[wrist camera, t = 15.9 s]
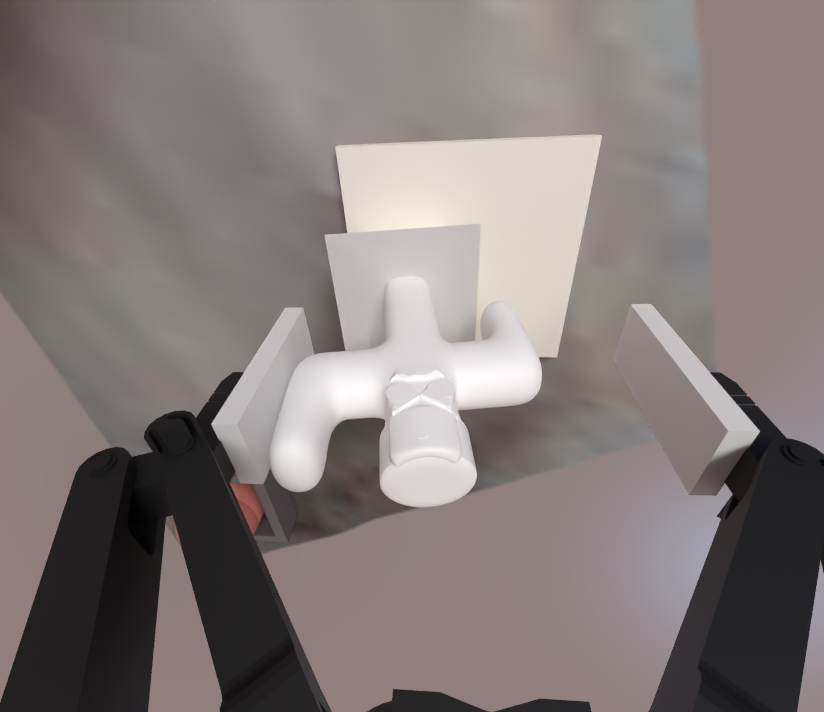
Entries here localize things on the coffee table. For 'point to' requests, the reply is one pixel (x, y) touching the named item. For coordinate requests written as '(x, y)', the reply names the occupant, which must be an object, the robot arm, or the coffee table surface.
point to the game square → (486, 211)
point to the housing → (273, 510)
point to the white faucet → (406, 364)
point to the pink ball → (245, 505)
